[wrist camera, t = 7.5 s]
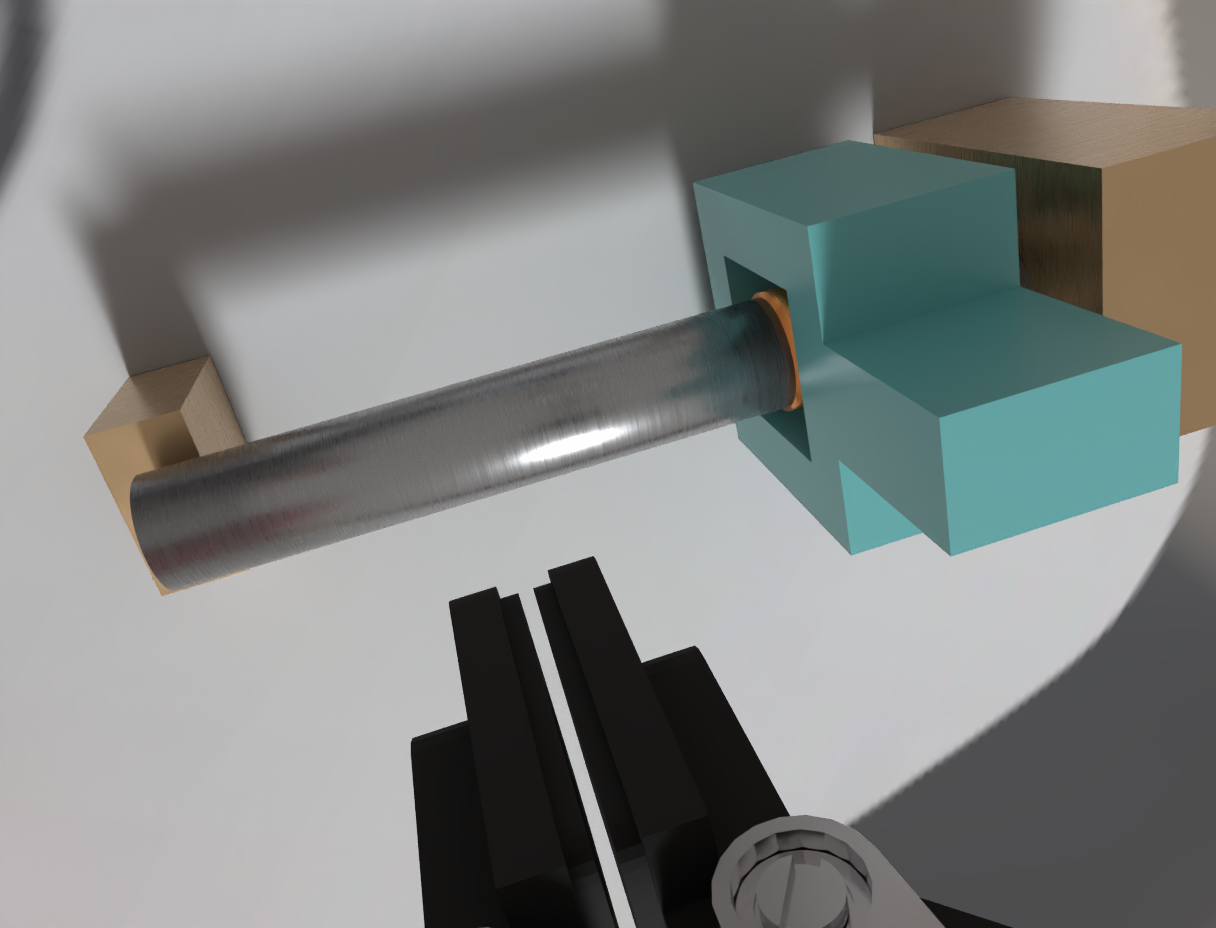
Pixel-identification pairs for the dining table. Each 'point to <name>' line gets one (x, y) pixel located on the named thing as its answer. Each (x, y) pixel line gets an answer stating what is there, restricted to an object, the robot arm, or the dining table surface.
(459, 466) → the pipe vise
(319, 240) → the dining table surface
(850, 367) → the collar
